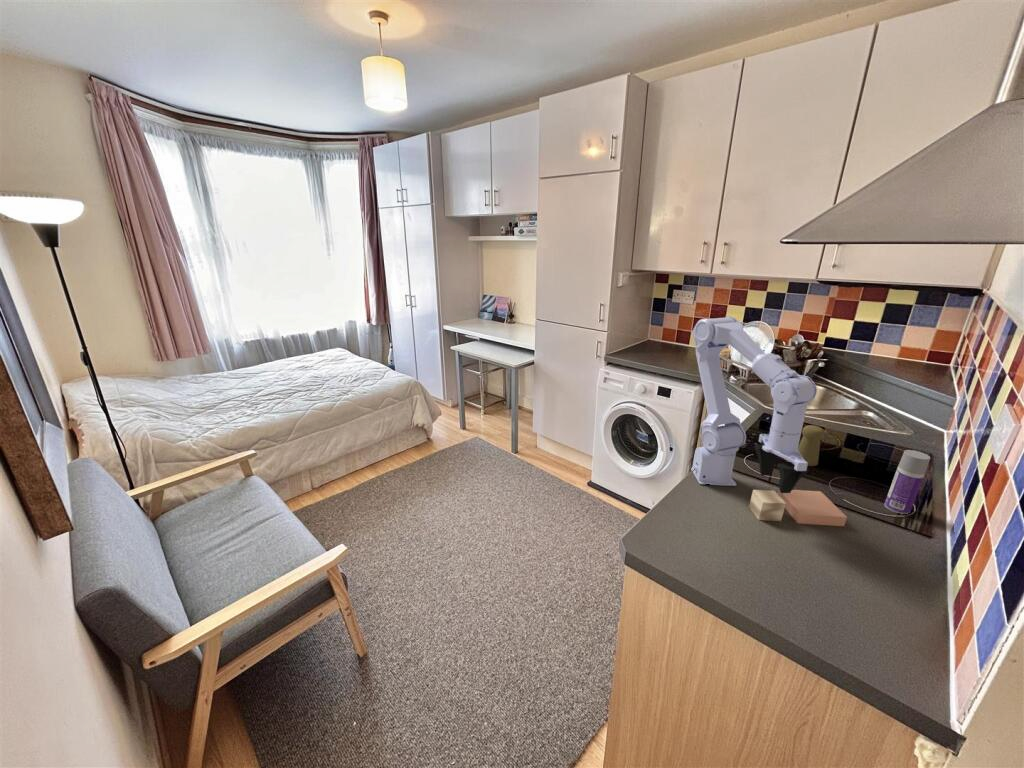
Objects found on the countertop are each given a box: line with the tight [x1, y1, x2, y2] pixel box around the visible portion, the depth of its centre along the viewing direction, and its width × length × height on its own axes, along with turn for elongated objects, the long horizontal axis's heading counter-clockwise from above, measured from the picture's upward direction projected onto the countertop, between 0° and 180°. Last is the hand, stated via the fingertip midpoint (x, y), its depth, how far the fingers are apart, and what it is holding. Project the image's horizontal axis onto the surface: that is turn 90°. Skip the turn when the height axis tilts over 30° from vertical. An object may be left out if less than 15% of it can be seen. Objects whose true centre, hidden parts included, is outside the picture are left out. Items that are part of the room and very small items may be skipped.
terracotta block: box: [776, 488, 848, 527], centre depth 98 cm, size 10×10×3 cm
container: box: [883, 449, 931, 515], centre depth 97 cm, size 5×5×15 cm
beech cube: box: [748, 489, 786, 522], centre depth 97 cm, size 5×5×5 cm
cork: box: [798, 424, 825, 467], centre depth 119 cm, size 6×6×11 cm
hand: (774, 483), depth 95 cm, fingers open, 7 cm apart
